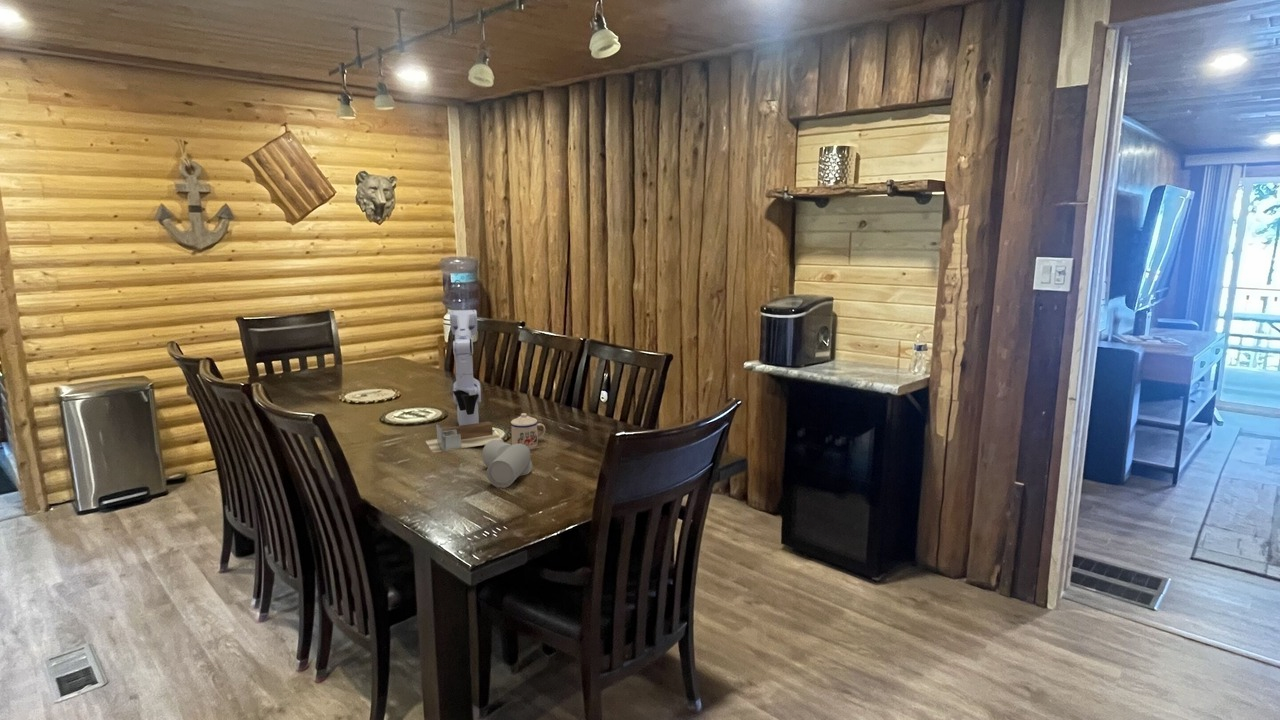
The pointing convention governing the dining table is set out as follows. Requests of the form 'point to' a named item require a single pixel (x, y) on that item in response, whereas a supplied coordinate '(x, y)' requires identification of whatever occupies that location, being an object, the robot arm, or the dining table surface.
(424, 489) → the dining table surface
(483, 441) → the base board
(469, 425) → the rail
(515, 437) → the teacup with lid
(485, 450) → the elbow connector
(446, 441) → the bracket
